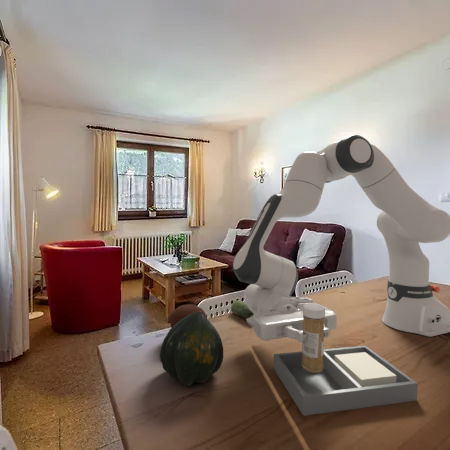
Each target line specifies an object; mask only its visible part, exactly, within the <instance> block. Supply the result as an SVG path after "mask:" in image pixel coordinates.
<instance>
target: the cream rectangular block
mask: <svg viewBox="0 0 450 450" xmlns="http://www.w3.org/2000/svg"><path fill="white" fill-rule="evenodd" d="M334 361H335V362H336V363H337V364H338V365H339V366H340V367H341V368H342V369H344V370H345V371H346V372H347V373H348V374H349V375H350V376H351V377H352V378H353V379H354V380H355V381H356V382H357V383H358V384H359V385H360V386H361V387H367V386H376V385H384V384H392V383H396V375H395V374H394V373H392V372H391V371H390V370H388V369H387V368H386V367H384V366H383V365H382V364H380V363H379V362H378V361H376V360H375V359H374V358H372V357H371V356H370V355H368V354H367V353H366V352H361V353H351V354H340V355H334Z"/></svg>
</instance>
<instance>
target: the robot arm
mask: <svg viewBox="0 0 450 450" xmlns="http://www.w3.org/2000/svg"><path fill="white" fill-rule="evenodd" d="M349 176H352V177H354V178H355V179H354V180H355V181H356V182H357V184H358V185H359V186H360V188H361V189H362V191H363V192H364V193H365V195H366V196H367V197H368V199H369V200H370V202H371V203H372V204H373V206H374V207H375V208H377V209H379V210H381V212H380V213H379V214H378V216H377V218H376V228H377V229H378V231H379V232H380V233H381V235H382V236H383V239H384V241H385V244H386V247H387V254H388V260H389V261H388V263H389V266H388V267H389V269H388V271H389V272H388V273H389V274H388V275H389V276H388V280H387V285H386V286H387V287H386V291H387V298H386V299H387V300H386V305H385V309H384V313H383V316H382V319H381V321H382V323H383V324H384V325H386V326H388V327H390V328H393V329H395V330H398V331H401V332H406V333H410V334H411V333H412V334H418V335H421V336H425V337H434V336H435V337H436V336H439V335H443V334H448V333H450V309H449V308H448V306H447V305H445V304H444V303H443V302H441V301H440V300H439V299H437V297H436V296H434V293H437V294H438V293H440V291H441V287H440V286H438V285H435V284H432V285H430V284H429V283H430V282H429V280H430V261H429V258H428V257H427V256H426V255H425V254H424V252H423V251H422V249H421V246H420V243H421V244H432V243H440V242H443V241H444V240H446V239H447V238H448V237H449V236H450V214H448V212H446V211H444V210H442V209H440V208H438V207H436V206H434V205H432V204H431V203H429V201H427V200H425V198H423V197H422V196H420V195H419V194H418V193H417V192H415V190H414V189H412V188H411V187H410V185H409V184H408V183H407V182H406V181H405V180H404V178H403V177H402V175H401V174H400V173H399V171H398V170H397V169H396V167H395V166H394V164H393V163H392V161H391V160H390V159H389V158H388V157H387V156H386V155H385V154H384V153H383V152H382V150H380V148H378V147H377V146H376V145H374V144H371V143H370V141H368V139H367V138H365V137H364V136H362V135H358V134H352V135H347V136H344V137H342V138H341V139H339V140H337V141H334V142H332V143H330V144H328V145H327V146H326V147H324V148H323V149H321V150H319V151H317V152H316V151H309V150H308V151H304V152H300V154H298V155H297V157H295V160H294V161H293V163H292V164H291V167H290V170H289V172H288V174H287V176H286V179H285V182H284V184H283V187H282V189H281V190H280V192H278V193H274V194H273V195H271V196H270V197H269V198H268V199H267V200H266V202H265V204H264V206H263V207H262V208H261V211H260V212H259V214H258V216H257V219H256V220H255V222H254V224H253V226H252V228H251V230H250V231H249V233H248V235H247V237H246V239H245V240H244V242H243V244H242V246H241V247H240V248H239V250H238V251H237V252H236V254H235V256H234V259H233V262H232V270H233V273H234V275H235V276H236V278H237V280H238V281H240V282H242V283H246V284H249V285H248V286H247V287H246V288H245V290H244V293H243V300H244V303H245V304H246V305H247V307H248V308H249V310H250V311H251V312H252V313H253V314H254V315H253V316H250V317H249V318H247V320H246V319H245V320H246V323H247V325H249V326H250V327H252V331H253V332H254V334H255V335H256V336H257V338H259V339H260V340H261V341H262V340H263V341H271V340H277V339H282V338H283V339H285V338H289V339H292V340H293V339H294V340H297V341H298V342H299V343H302V342H304V341H307V333H306V332H304V331H303V305H304V304H308V303H315V304H318V302H317V303H316V302H314V300H313V299H312V298H310V297H303V296H302V297H300V296H299V297H298V296H292V294H294V291H295V290H296V287H297V284H298V281H299V272H298V269H297V266H296V264H295V262H294V261H293V260H290V259H288V258H286V257H283V256H281V255H277V254H274V253H272V252H269V251H267V250H265V249H264V246H265V244H266V243H267V241H268V237H269V236H270V234H271V232H272V231H273V228H274V227H275V224H276V223H277V222H278V220H280V219H283V218H303V217H307V216H309V215H310V214H312V213H314V212H315V211H316V210H317V208H318V206H319V204H320V201H321V198H322V195H323V190H324V188H325V184H326V183H327V184H328V183H332V182H335V181H339V180H342V179H345V178H347V177H349ZM433 292H434V293H433ZM324 307H325V318H324V339H325V338H330V335H331V331H332V330H336V328H337V325H338V317H337V313H336V312H335V311H333V310H331V309H330V308H329V307H326V306H324Z"/></svg>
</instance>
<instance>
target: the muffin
mask: <svg viewBox="0 0 450 450" xmlns="http://www.w3.org/2000/svg"><path fill="white" fill-rule="evenodd" d="M199 311H201V312H202V313H203V314H204V315H205V317H206V318H207V319H208V315H207V314H206V312H205V310H204V309H203V308H202V307H200V306H198V305H196V304H183V305H180V306H178V307H177V308H175V309H174V310H172V312H171V313H170V314H169V316H168V318H167V322H168V323H169V324H170V327H171V328H172V327H173V326H174V325H175V324H176V323H177V322H179V321H180V320H181V319H183V318H185V317H186V316H188V315H190V314H191V313H194V312H199ZM171 328H170V329H171Z"/></svg>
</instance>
